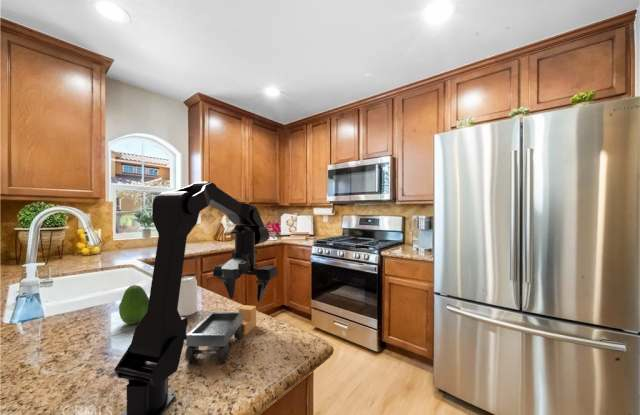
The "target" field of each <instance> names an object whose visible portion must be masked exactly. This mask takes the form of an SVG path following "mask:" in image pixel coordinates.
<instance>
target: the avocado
mask: <svg viewBox="0 0 640 415" xmlns="http://www.w3.org/2000/svg"><path fill="white" fill-rule="evenodd" d="M148 304H149V295H148V294H147V293H146V291H145V289H144V288H143V287H141V286H140V285H137V284H133V285H130V286H129V287H128V288H126V289H125V290H124V293H123V295H122V299H121V301H120V303H119V306H118V308H119V309H118V312H119V313H118V314H119V317H120V319H121V321H122V322H123V323H125V324H127V325H135V324H138V323H139V322H140V321H141V319H142V318H143V317H144V315H145V314H146V313H147V310H148Z"/></svg>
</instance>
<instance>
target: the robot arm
mask: <svg viewBox="0 0 640 415" xmlns="http://www.w3.org/2000/svg"><path fill="white" fill-rule="evenodd" d="M151 206H152V209H151V210H152V215H151V216H152V222H153V225H154V227H155V229H156V232H157V235H158V238H157V244H156V251H155V257H154V265H153V270H152V278H151V279H152V280H151V283H150V293H149V296H148V298H149V304H148V310H147V313H146V314H145V315H144V317H143V318H142V319H141V321H140V322H138V323H137V325H136V326H135V328H134V332H133V335H132V339H131V342H130V344H129V346H128V348H127V349H126V351H125V352H124V354H123V355H122V357H121V358H120V360H119V361H118V363H117V364H116V366H115V367H114V373H115V375H116V377H117V378H118V379H125V380H127V381H128V384H126V386H125V387H126V388H125V389H126V409H125V411H124V412H123V413H121V415H163V413H164V412H165V410H166V409H167V408H168V407H169V405H170V404H171V403H172V402H173V400H174V399H175V398H176V396H177V393H176V392H169V377H171V375H173V374H175V373H176V372H177V371H178V368H179V364H180V360H181V357H182V356H181V355H182V351H183V348H184V344H185V341H186V339H187V338H186V335H187V328H188V325H189V321H188V317H186V316H180V315H179V312H178V301H179V293H180V286H181V278H182V277H183V276H182V275H183V269H184V262H185V254H186V247H187V246H186V245H187V240H188V236H189V234H190V233H191V232H192V230H193V229H194V228H195V226H196V225H197V223H198V220H199V216H200V212H201V211H203V210H204V209H206V208H207V207H208V206H211V207H212V208H214V209H216V210H218V211H219V212H221V213H223V214H224V215H226V216H227V219H228V220H229V221H230V222H231V223H232V224H233V225H235V226H234V227H233V228H232V230H230V234H233V235H234V251H233V252H232V254H231V259H229V260H228V261H226V262H224V263H221V264H218V265H215V266H214V267H213V269H212V276H213V277H216V279H217V280H220V281H221V282H222V283H223V284H224V287H225V289H226V291H227V294H228V297H229V299H230V300H233V299H234V297H235V289H236V280H238V279H240V278H241V276H242V275H250V276H256V278H257V279H256V280H255V283H256V284H257V294H256V298H257V303H260V302H261V301H262V298H263V297H264V294H265V291H266V289H267V286H268V285H269V282H270V281H271V280H272V279H274V278H276V277H277V276H278V272H279V271H278V268H277V266H276V265H264V266H262V267H259V268H257V267H258V263H256V254H258V250H257V249H256V245H257V246H258V245H261V244H264V243H266V242H268V240H269V238H270V232H269V229H268V228H267V227H265V223H264V222H263V220H262V217H261V214H260V212H259V210H258V208H257V206H255V205H253V204H251V203H244V202H240V201H239V200H238V199H236V198H234V197H232V196H231V195H230V194H228V193H226V191H223V189H221V188H220V187H218V186H217V184H215V183H214V182H212V181H195V182H194V183H192V184H189V185H188V186H184V187H182V188H178V189H174V190H171V191H164V192H163V191H162V192H160V193H159V194H158V195H155V196H154V198H153V201H152V205H151Z"/></svg>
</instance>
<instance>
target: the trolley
mask: <svg viewBox="0 0 640 415" xmlns="http://www.w3.org/2000/svg"><path fill="white" fill-rule="evenodd" d="M242 322H243V312H239V311H237V312H233V311H232V312H230V311H229V312H227V311H226V312H225V311H224V312H221V311H218V312H217V311H215V312H214V311H213V312H212V311H211V312H210V313H209V314H208V315H207V316H206V317H204V319H202V320H201V321H200V322H199V323H197V325H195V327H193V328H192V329H191V331H189V332H188V333H186V338H187V339H186V340H185V343H186V345H185V346H186V349H185V353H184V354H185V355H184V359H185V362H186V363H187V362H190V363H191V362H192V363H193V362H194V361H195V360H197V357H198V355H199V354H200V355H217V359H218V360H217V361H218V362H219V363H226V362H227V361H228V358H229V356H230V352H231V351H230V348H231V346H230V343H229V342H230V340H231V339H232V338H233V337H234V339H235V340H241V339H242V338H243V336H244V335H243V323H242ZM200 347H207V348H208V347H219V349H200Z"/></svg>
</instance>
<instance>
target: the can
mask: <svg viewBox="0 0 640 415" xmlns="http://www.w3.org/2000/svg"><path fill="white" fill-rule="evenodd" d="M178 312H179V315H180V317H188V316H189V317H190V316H192V315H194V314H195V313H196V312H198V280H197V278H196V276H194V275H185V276H182V278H181V286H180V293H179V301H178Z"/></svg>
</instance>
